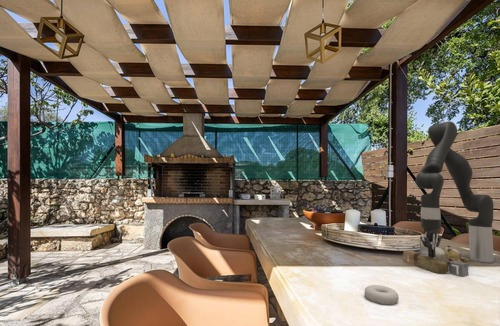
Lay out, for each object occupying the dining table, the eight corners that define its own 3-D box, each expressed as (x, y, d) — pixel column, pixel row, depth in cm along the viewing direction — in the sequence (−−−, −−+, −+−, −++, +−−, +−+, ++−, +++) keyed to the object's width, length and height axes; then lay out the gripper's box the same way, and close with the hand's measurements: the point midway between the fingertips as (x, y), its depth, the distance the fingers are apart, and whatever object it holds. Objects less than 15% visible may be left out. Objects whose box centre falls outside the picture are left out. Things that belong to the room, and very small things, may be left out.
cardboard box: (409, 260, 136) (409, 250, 136) (420, 263, 132) (419, 252, 132) (403, 261, 134) (403, 251, 134) (413, 264, 129) (413, 253, 130)
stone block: (438, 274, 115) (438, 262, 116) (415, 266, 127) (415, 255, 127) (450, 274, 117) (449, 261, 117) (425, 266, 128) (425, 254, 129)
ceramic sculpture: (436, 241, 142) (473, 248, 131) (436, 257, 142) (472, 266, 130) (428, 243, 136) (465, 251, 124) (427, 261, 136) (465, 271, 124)
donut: (374, 291, 96) (358, 297, 90) (374, 281, 96) (358, 286, 90) (404, 301, 88) (389, 309, 82) (404, 290, 88) (389, 297, 82)
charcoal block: (454, 272, 119) (454, 260, 120) (468, 275, 115) (468, 263, 115) (448, 273, 117) (448, 261, 117) (462, 277, 112) (462, 264, 113)
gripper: (430, 216, 130) (431, 253, 128) (413, 217, 124) (414, 256, 122) (448, 218, 123) (449, 257, 122) (430, 219, 117) (431, 261, 116)
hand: (431, 257), depth 122 cm, fingers closed
